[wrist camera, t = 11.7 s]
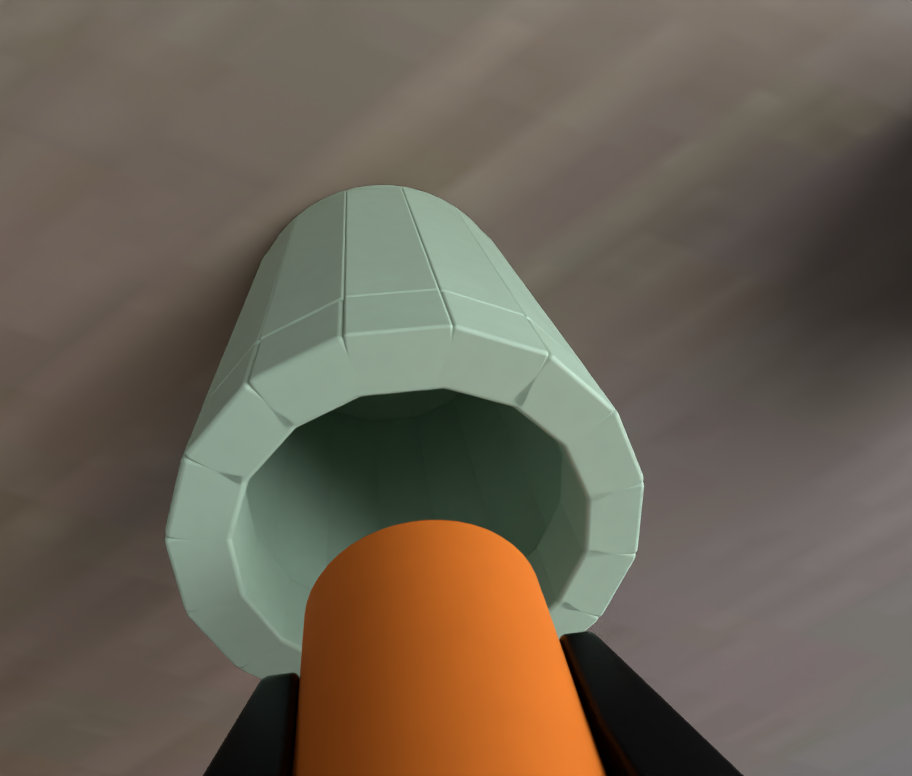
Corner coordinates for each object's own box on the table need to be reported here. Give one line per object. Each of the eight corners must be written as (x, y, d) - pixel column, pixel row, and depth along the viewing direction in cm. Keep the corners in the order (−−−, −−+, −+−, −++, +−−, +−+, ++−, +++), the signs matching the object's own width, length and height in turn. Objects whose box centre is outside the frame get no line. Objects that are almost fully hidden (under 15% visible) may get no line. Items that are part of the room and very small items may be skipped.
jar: (508, 410, 22) (626, 678, 13) (277, 433, 21) (221, 738, 12) (506, 176, 19) (665, 305, 9) (233, 193, 18) (106, 355, 8)
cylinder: (529, 684, 10) (643, 1091, 6) (311, 704, 10) (286, 1158, 6) (550, 509, 9) (718, 895, 5) (296, 524, 8) (249, 961, 4)
